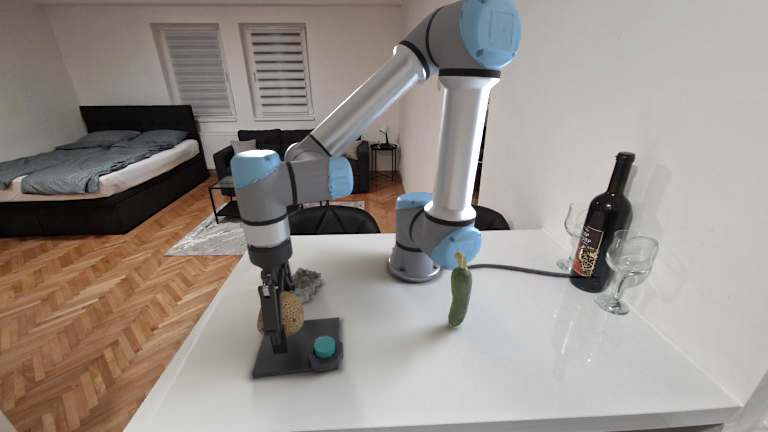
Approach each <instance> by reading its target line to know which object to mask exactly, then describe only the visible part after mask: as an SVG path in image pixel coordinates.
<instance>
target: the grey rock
mask: <svg viewBox="0 0 768 432" xmlns="http://www.w3.org/2000/svg"><path fill="white" fill-rule="evenodd" d="M321 277H322V273H321V272H316V270H311V269H307V268H306V269H304V268H303V267H298V268H297V269H296V271H295V272H294V273H293V274H292V279H293V283H291V285H295V291H290V292H292V293H293V294H294V295H296V296H297V297H298V298H299V300H300V302H301V304H302V305H303V304H304V303H307V302H308V301H309V300H310V296H309V295H311V294H312V295H313V294H314V293H315V290H316V289H315V287H319V286H320V285H321V282H320V280H321V279H320V278H321Z"/></svg>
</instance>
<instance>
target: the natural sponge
mask: <svg viewBox="0 0 768 432" xmlns="http://www.w3.org/2000/svg"><path fill="white" fill-rule="evenodd" d="M293 293H294V292H292V293H291V292H287V291H282V292H281V307H282V325H284V327H285V333H286V337H288V336H291V335H293V334H295V333H296V332H298V331H299V330H300V329H301V327H302V326H303V323H304V320H305V309H304V306H303V303H302V304H301V302H300V300H299V298H298V297H297V296H296V295H294V294H293ZM256 328H257V330H258V332H259V334H260V335H262V336H264V332H263V329H264V328H263V319H262V311H261V307H260V308H259V312H258V315H257V321H256Z"/></svg>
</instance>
